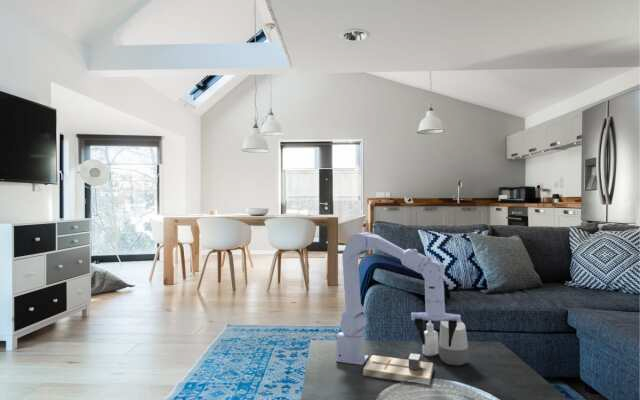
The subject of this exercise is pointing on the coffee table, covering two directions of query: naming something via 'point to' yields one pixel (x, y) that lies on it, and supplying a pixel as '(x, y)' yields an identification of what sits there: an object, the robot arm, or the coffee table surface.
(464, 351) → the smart speaker
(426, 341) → the eye dropper bottle
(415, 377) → the console
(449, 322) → the robot arm
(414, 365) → the fader tab
